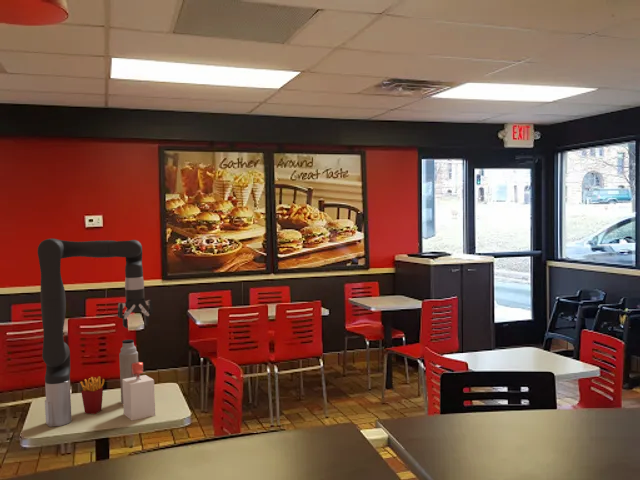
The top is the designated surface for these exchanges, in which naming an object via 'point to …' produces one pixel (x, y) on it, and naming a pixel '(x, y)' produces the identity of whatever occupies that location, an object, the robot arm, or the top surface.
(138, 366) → the pump plunger
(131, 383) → the pump dispenser
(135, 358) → the thermos bottle
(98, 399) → the french fries
